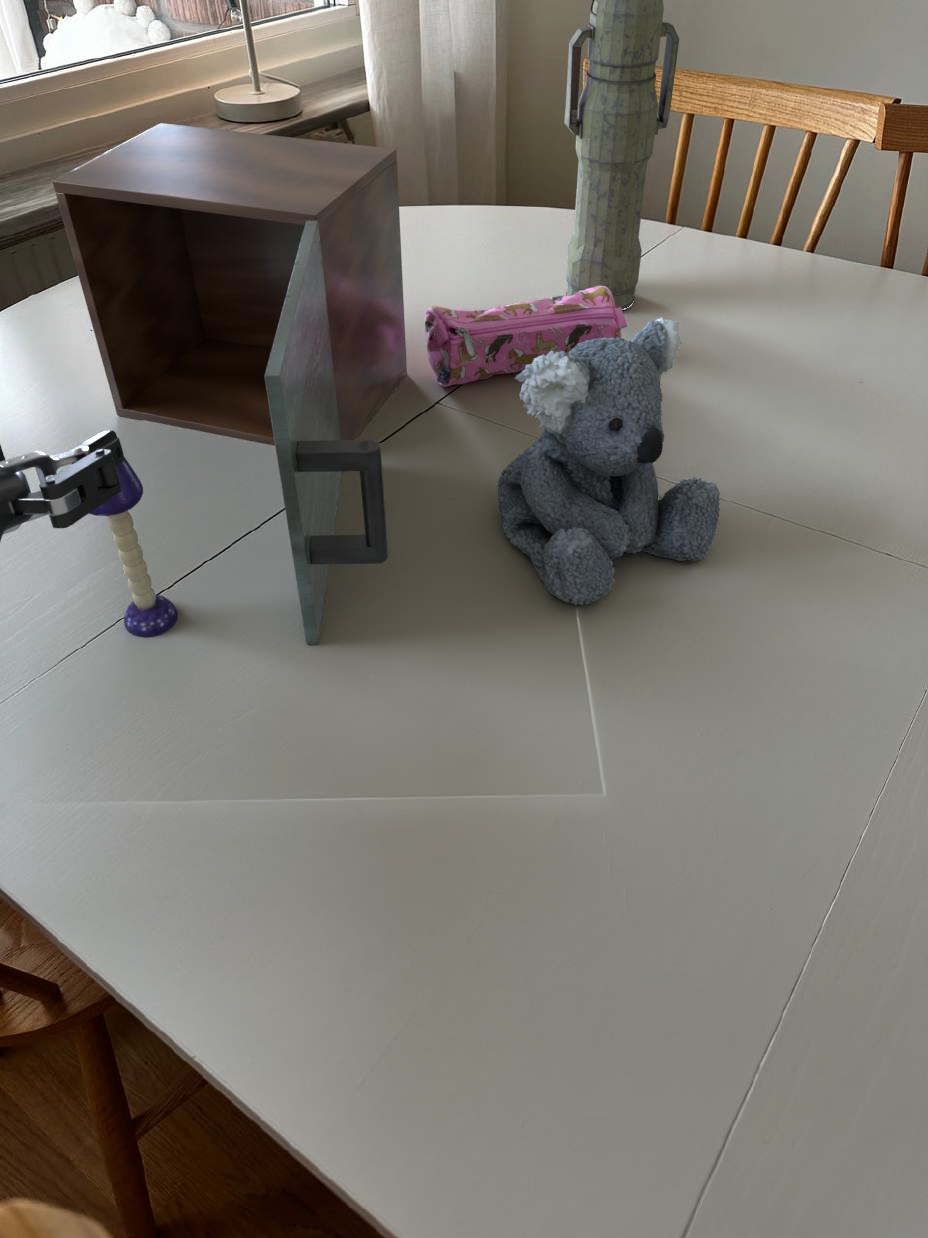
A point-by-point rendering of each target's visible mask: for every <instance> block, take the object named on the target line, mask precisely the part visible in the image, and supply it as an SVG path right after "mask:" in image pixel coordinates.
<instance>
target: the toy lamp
mask: <svg viewBox="0 0 928 1238" xmlns="http://www.w3.org/2000/svg"><path fill="white" fill-rule="evenodd" d="M116 470H117V473H118V477H119V480H120V484H121V487H122V491H121V492H119V493H118V494H117V495H115V496H114V497H112V498H111V499H109V500H108V501H106V502H105V503H103V504H102V505H100V506H99V507H98V508H96V509H95V510H93V511H92V512H90V513H89V514H88V515H93V516H96V517H97V516H99V517H107V526H108V528H109V531H111V533H112V540H113V543H114V545H115V547H116V548H117V555H118V559H119V561H120V562H121V563H122V572H123V574H124V576H125V578H127V587H128V588H129V590H130V592H131V598H132V602H130V604H129V605H127V608H126V610H125V612H124V617H123V620H124V621H123V622H124V623H123V624H124V627H125V629H126V630H127V632H128V633H129V634H131V635H132V636H134V637H138V638H154V637H157V636H160V635H163V634H165V633H166V632H168V631H170V630H171V629H173V627H174V626H175V625H176V624H177V621H178V618H179V613H178V610H177V608H176V607H175V605H174V603H173V602H172V601H171V600H170V599H168V598H167V597H165V596H163V595H161V594H160V595H159V594H156V592H155V589H153V587H152V586H153V583H152V579H151V576H150V574H148V565H147V562H146V561H145V559H144V551H143V548H142V546H141V545H140V544H139V536H138V533H137V530H136V529H135V528H134V519H133V517H132V515H131V513H130V512H129V510H132V509H133V508H134V507H135V506H137V504H139V503H140V501H141V500H142V497H143V494H144V487H143V483H142V482H141V480H140V478H139V476H138V475H137V472H135V470H134V469H133V467H132V466H131V464H130V463H129V461H128V459H127V458H126V457H125V460H124V462H122V463H121V464H120V465H119V466H118V467H116Z"/></svg>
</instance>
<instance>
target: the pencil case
mask: <svg viewBox="0 0 928 1238" xmlns="http://www.w3.org/2000/svg"><path fill="white" fill-rule="evenodd" d="M627 327H628V324H627V320H626V319H625V315H624V311H622V308H621V307H619V308H616V307H615V302H614V299H613V295H612V293H611V291H610V290H609V288H607V287H605V286H596V287H594V288H588V289H585V290H581V291H579V292H577V293H576V294H574V295H572V296H566V295H557V296H546V297H539V298H533V299H532V298H531V299H528V300H523V301H518V302H517V301H516V302H512V303H509V304H506V305H501V306H496V307H492V308H491V307H490V308H488V309H459V308H457V309H456V308H448V307H443V306H437V305H432V306H430V308H427V310H426V311H425V315H424V330H425V336H426V352H427V360H428V363H429V365H430V367H431V369H432V371H433V373H434V374H435V379H436V381H437V383H438V385H440V386H442V387H443V388H448V387H452V386H453V385H465V384H468V383H472V382H476V381H479V380H486V379H490V378H491V377H493V376H495V375H507V374H514V373H518V372H522V371H524V370H525V369H526V367H525V365H529V364H532V362H533V360H534V358H537V357H539V356H542V355H543V354H544V355H545V356H546V355H547V354H548V353H549V352H550V351H554V352H555V353H556V352H560V351H565V352H566V353H569V352H570V350H572V349H573V348H574V347H575V346H576V345H577V344H579V343H581V342H585V341H587V340H591V339H596V338H597V339H598V338H604V337H606V338H611V337H613V338H622V330H621V329H624V328H627Z"/></svg>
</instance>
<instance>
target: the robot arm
mask: <svg viewBox="0 0 928 1238" xmlns="http://www.w3.org/2000/svg"><path fill="white" fill-rule="evenodd" d="M125 458H126V457H125V453H124V450H123V447H122V443H121V440H120V437H119V436H118V435H117V432H115V430H101V431H99V432H98V433H96V434H94V435H93V436H91V437H89V438H88V439H87V440H85V441H84V442H82V443H80V444H79V445H77V446H75V447H73V448H71V449H69V450H65V451H62V452H59V453H56V454H52V455H49V454H47V453H44V452H43V451H40V450H35V451H32V452H29V453H25V454H22V455H19V456H16V457H15V456H14V457H12V458H9V459H6V457H5V454H4V451H3V449H2V446H1V444H0V543H1V541H2V538H3V536H4V535H5V534H9V533H11V532H14V531H17V530H19V529H20V527H21V526H22V525H23V524H25V523H28V522H31V521H34V520H37V519H39V518H43V517H46V516H48V517H49V520H50V523H51V526H52V528H53V529H67V528H69V527H70V526H73V525H75V524H76V523H77V522H79V521H80V520H82V519H83V518H85V517H86V516H88V515H90V514H89V513H90V512H92V511H93V510H95V509H96V508H98V507H99V506H100V505H102V504H103V503H105V502H106V501H108V500H109V499H111V498H112V497H114V496H115V495H117V494H118V493H119V492H121V491H122V487H121V484H120V480H119V477H118V473H117V470H116V467H118V466H119V465H120V464H121V463H122V462H124V460H125ZM65 466H67V467H66V468H63V469H62V470H60V471H59V472H58V469H60V468H62V467H65ZM32 468H34V469H35V472H36V475H37V477H38V481H39V485H38V487H39V491H38V490H37V491H35V492H32V490H31V488H30V485H29V481H28V479H27V475H26V474H25V472H24V471H26V470H29V469H32Z"/></svg>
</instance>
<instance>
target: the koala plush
mask: <svg viewBox="0 0 928 1238" xmlns="http://www.w3.org/2000/svg"><path fill="white" fill-rule="evenodd" d="M679 324H680V322H678V321H676V320H675V319H674V320H670V319H667V318H666V319H665V318H663V315H661V317H659V318H657V319H655V320H651V321H648V322H647V323H646V324H645V326H644V327H643V328H642V329H641V330H640V331H638V332H637V333H636V334H635V335H634V336H633V337H632V339H631V340H628V339H624V338H623V337H621V338H613V337H611V338H606V337H604V338H598V339H597V338H596V339H591V340H587V341H585V342H581V343H579V344H577V345H576V346H575V347H574V348H573V349H572V350H570V352H569V353H566V352H565V351H560V352H556V353H555V352H554V351H550V352H549V353H548V354H547V355H546V356H545V355H544V354H543V355H542V356H539V357H537V358H534V360H533V362H532V364H529V365H525V367H526V369H525V370H523V371H521V372H520V373H518V374H515V375H516V376H515V377H514V378H513V379H515V380H517V381H518V382H519V383H522V382H523V383H522V384H521V388H520V391H519V394H518V395H519V400H520V401H523V403H524V404H523V408H525V409H526V410H527V411H526V415H531V416H533V417H534V418H535V419H537V420H538V421H539V423H540V425H539V428H542V427H544V430H543V432H542V434H540V435H539V437H538V438H537V439H536V440H534V443H532V444H531V445H530V446H529V447H528V448H526V449H525V450H524V451H523V452H522V453H520V454H518V456H517V457H515V459H514V460H512V461H511V462H510V463H509V464H507V466H506V467H505V468H504V469H503V470H502V472H501V473H500V474H501V475H500V477H499V479H498V483H497V485H496V487H497V489H496V493H497V500H498V510H499V512H500V514H499V515H500V517H501V520H502V521H503V522H502V529H503V532H504V534H505V537H506V538H507V539H509V543H510V545H511V546H512V545H513V547H515V548H518V549H519V550H520V551H521V553H522V554H525V555H527V556H528V557H529V558H530V560H531V563H532V565H533V568H534V569H535V572H536V573H537V576H538V577H539V580H541V581H542V583H543V585H544V587H545V588H546V590H547V591H548V593H549V594H550V595H552V596H554V597H556V598H557V599H558V600H561V601H562V602H563V603H569V604H571V605H572V604H573V605H579V604H580V605H579V606H583V605H584V604H585V605H591V604H592V603H595V602H596V601H598V600H599V599H602V598H605V597H607V595H609V593H610V592H611V590H612V585H613V584H615V578H614V577H615V574H616V573H615V567H614V566H613V560H615V558H618V557H621V556H623V555H624V553H627V554H628V555H630V554H632V555H635V554H637V553H640V552H644V553H648V554H650V555H654V556H656V557H661V558H666V559H671V560H676V561H678V562H680V561H691V562H695V561H701V560H704V559H705V556H707V554H708V552H709V550H710V548H711V547H712V544H713V540H714V539H715V536H716V535H717V529H718V523H719V518H720V511H721V508H720V505H721V503H720V501H721V499H720V497H721V492H720V490H719V488H718V487H717V483H715V482H713V481H708V482H707V481H705V480H702V478H701V477H699V478H698V477H696V476H694V477H692V478H687V479H685V478H684V479H683V480H682V479H681V480H680V481H679V482H678V483H675V484H674V486H672V487H670V488H669V489H668V490H667V491H666V492H665V493H664V494H663V496H662V497H661V498H659V496H660V495H659V489H658V488H659V487H658V479H657V474H656V470H655V467H654V464H653V463H655V462H657V461H658V460H659V458H660V457H661V456H662V453H663V448H664V442H665V433H664V430H663V422H662V415H663V414H662V411H663V410H662V409H663V408H662V407H663V406H662V402H663V391H662V388H661V387H662V386H661V385H662V384H661V380H662V376H663V374H664V372H665V373H667V372H668V371H670V369H672V368H673V367H674V363H675V361H676V360H677V359H679V358H678V356H676V352H677V351H679V348H680V347H681V346H680V345H682V340H681V339H680V335H679ZM688 559H689V560H688Z"/></svg>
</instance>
